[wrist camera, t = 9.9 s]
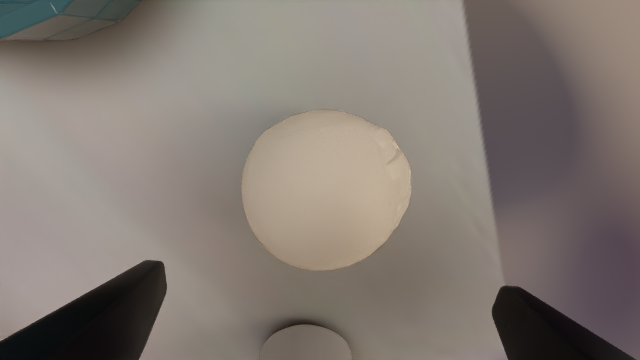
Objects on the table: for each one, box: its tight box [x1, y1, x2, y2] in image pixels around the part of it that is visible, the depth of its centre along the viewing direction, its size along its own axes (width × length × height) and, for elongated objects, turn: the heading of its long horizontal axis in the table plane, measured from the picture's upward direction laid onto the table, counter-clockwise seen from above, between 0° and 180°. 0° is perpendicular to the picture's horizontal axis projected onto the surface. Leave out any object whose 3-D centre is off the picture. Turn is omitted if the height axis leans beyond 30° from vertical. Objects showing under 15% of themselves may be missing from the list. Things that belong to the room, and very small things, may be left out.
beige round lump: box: [242, 110, 412, 270], centre depth 14 cm, size 7×7×7 cm
